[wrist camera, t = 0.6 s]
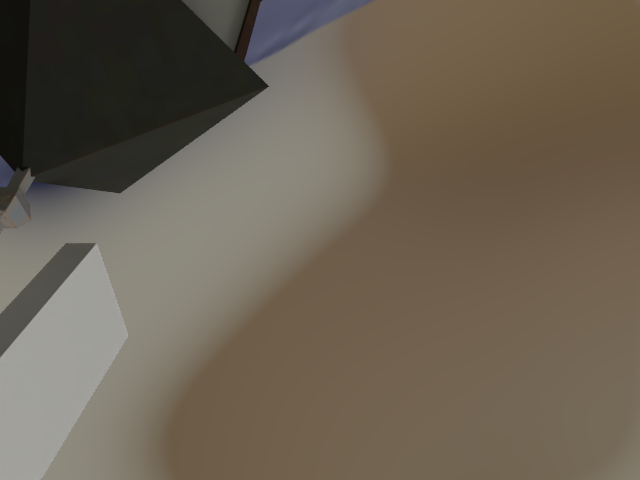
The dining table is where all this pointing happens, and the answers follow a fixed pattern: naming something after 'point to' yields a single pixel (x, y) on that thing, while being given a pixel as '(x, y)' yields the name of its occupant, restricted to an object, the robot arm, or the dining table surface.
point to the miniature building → (113, 87)
